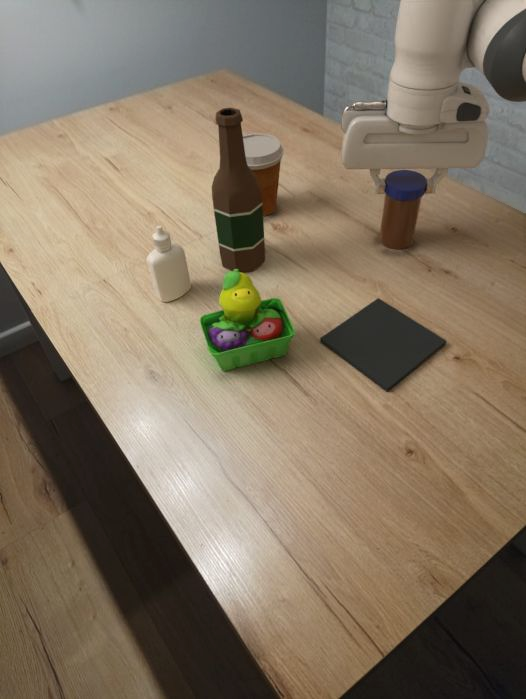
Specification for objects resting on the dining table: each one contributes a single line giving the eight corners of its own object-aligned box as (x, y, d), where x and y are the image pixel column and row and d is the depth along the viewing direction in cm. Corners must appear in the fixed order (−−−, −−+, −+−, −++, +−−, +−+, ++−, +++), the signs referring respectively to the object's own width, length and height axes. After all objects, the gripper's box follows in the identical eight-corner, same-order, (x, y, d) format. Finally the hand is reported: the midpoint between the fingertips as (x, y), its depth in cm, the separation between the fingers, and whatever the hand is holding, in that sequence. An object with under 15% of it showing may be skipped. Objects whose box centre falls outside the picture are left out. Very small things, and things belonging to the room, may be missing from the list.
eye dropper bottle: (155, 286, 81) (137, 221, 73) (190, 280, 82) (177, 215, 73) (156, 304, 78) (138, 239, 70) (193, 298, 79) (180, 232, 70)
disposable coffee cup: (255, 228, 91) (250, 164, 82) (223, 207, 96) (215, 144, 87) (295, 207, 95) (295, 144, 86) (262, 188, 100) (259, 126, 91)
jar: (393, 225, 89) (402, 170, 82) (420, 239, 86) (431, 182, 79) (372, 239, 87) (379, 183, 79) (398, 253, 84) (408, 196, 76)
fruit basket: (215, 381, 68) (203, 319, 59) (201, 335, 73) (189, 273, 65) (297, 360, 69) (297, 297, 61) (277, 317, 75) (275, 254, 67)
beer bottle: (213, 271, 83) (190, 123, 66) (226, 243, 88) (209, 98, 71) (260, 277, 82) (249, 126, 64) (271, 247, 87) (264, 100, 69)
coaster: (377, 301, 76) (378, 297, 76) (445, 344, 70) (446, 340, 69) (319, 342, 71) (320, 338, 71) (387, 392, 65) (388, 388, 64)
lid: (401, 175, 83) (402, 165, 82) (433, 189, 79) (435, 179, 78) (375, 190, 80) (376, 180, 79) (407, 205, 77) (409, 195, 76)
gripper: (343, 111, 69) (337, 203, 79) (502, 108, 67) (475, 202, 77) (341, 92, 73) (336, 182, 83) (491, 89, 71) (466, 180, 81)
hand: (404, 192), depth 80 cm, fingers closed on lid, 6 cm apart
